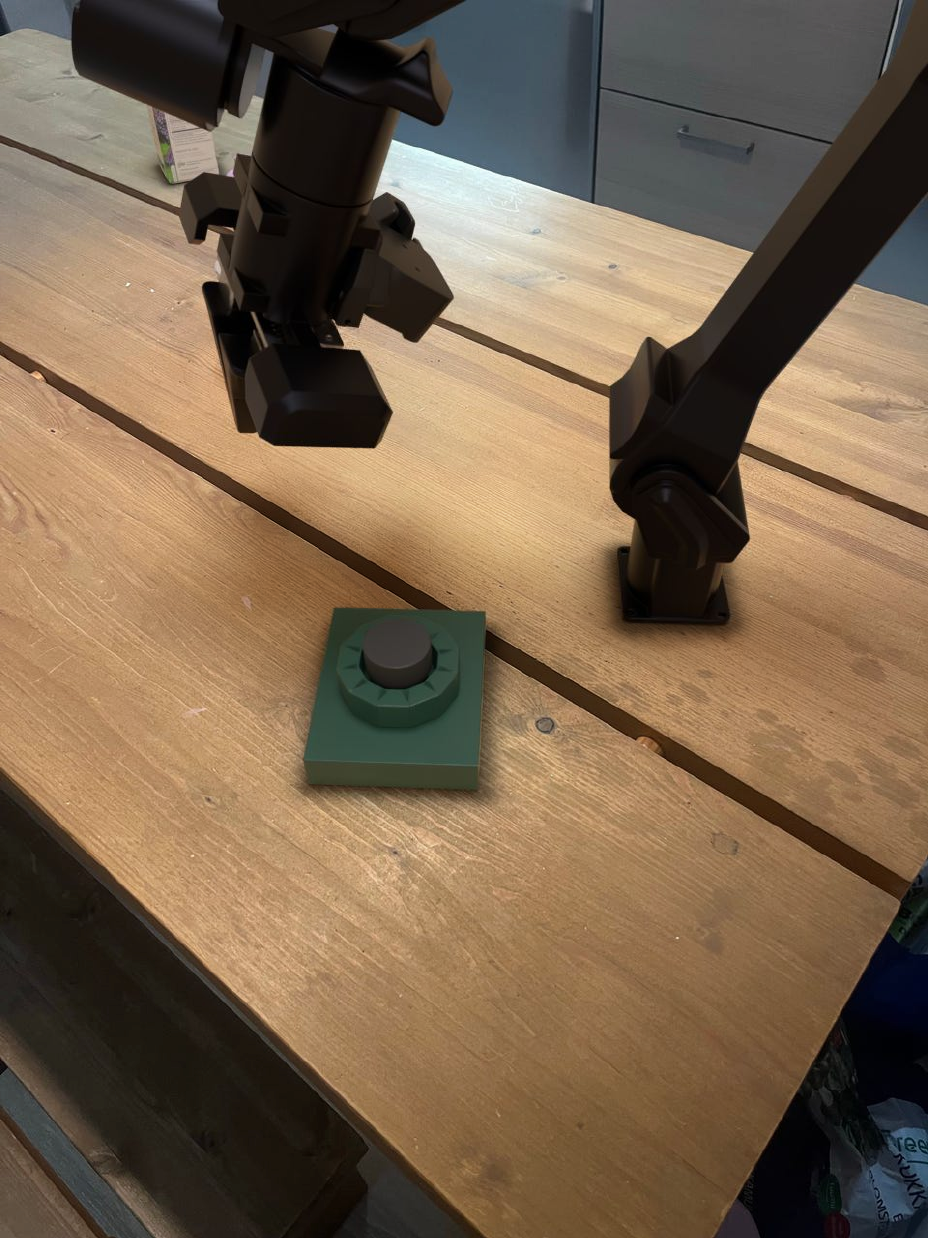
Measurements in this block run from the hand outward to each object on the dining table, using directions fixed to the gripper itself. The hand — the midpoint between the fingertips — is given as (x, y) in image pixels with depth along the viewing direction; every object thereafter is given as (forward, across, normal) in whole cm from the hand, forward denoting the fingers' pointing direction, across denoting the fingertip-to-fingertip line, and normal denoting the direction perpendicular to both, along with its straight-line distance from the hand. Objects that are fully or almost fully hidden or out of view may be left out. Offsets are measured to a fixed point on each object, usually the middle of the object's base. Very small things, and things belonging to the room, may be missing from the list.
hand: (245, 428), depth 54 cm
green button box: (+6, -16, -6) cm, 18 cm away
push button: (+3, -15, -5) cm, 16 cm away
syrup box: (+19, +64, -14) cm, 68 cm away
